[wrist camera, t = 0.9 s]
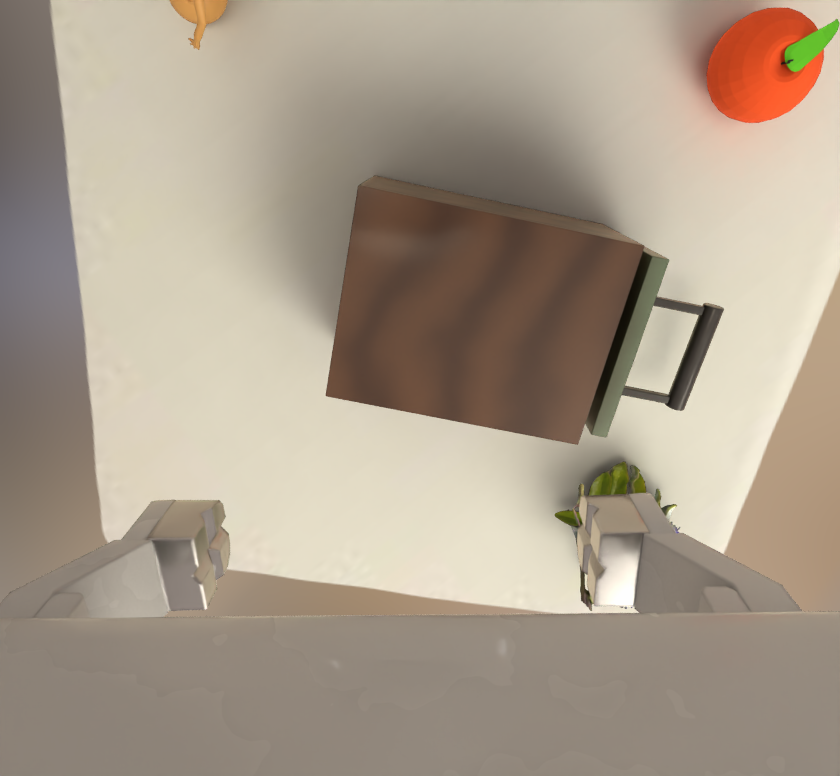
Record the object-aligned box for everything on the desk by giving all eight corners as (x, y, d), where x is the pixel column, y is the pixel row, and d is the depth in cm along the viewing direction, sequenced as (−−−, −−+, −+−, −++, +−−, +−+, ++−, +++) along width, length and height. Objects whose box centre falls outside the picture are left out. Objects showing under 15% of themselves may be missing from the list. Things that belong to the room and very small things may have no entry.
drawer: (699, 253, 49) (752, 276, 41) (643, 404, 54) (680, 452, 46) (413, 192, 48) (408, 204, 40) (383, 353, 53) (373, 392, 45)
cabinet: (603, 224, 49) (645, 245, 39) (552, 389, 55) (578, 445, 45) (373, 175, 48) (358, 185, 38) (345, 349, 54) (325, 396, 44)
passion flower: (625, 500, 65) (653, 619, 59) (528, 496, 63) (546, 620, 56) (686, 454, 56) (727, 590, 49) (575, 447, 53) (603, 589, 47)
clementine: (777, -17, 43) (840, -45, 36) (818, 73, 45) (884, 62, 38) (673, 61, 45) (714, 48, 38) (717, 143, 47) (763, 144, 40)
